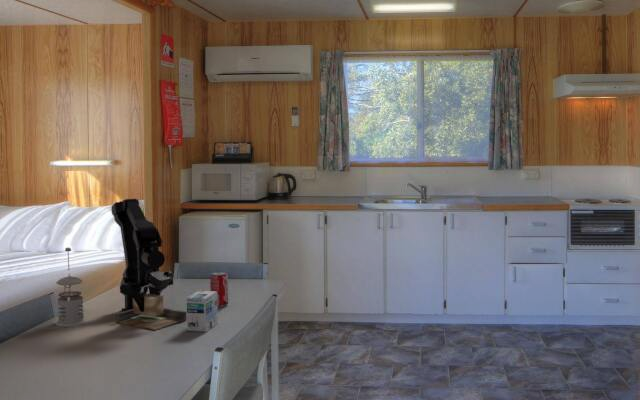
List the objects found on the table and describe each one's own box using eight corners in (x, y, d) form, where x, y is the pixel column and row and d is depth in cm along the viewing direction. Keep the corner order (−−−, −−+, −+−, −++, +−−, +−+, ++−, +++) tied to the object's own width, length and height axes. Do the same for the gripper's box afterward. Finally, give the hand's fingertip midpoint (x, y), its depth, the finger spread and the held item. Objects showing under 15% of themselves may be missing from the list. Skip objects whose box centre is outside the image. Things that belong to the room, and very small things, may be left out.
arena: (116, 322, 224) (115, 313, 224) (148, 313, 236) (148, 304, 235) (155, 330, 214) (154, 321, 214) (186, 320, 226) (186, 311, 226)
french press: (57, 328, 218) (53, 250, 216) (52, 319, 228) (49, 245, 226) (89, 324, 223) (86, 248, 220) (83, 315, 233) (80, 243, 231)
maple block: (152, 317, 222) (151, 298, 222) (133, 313, 227) (132, 295, 227) (163, 313, 226) (163, 295, 226) (144, 310, 231) (144, 292, 231)
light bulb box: (206, 332, 212) (206, 298, 211) (186, 331, 213) (185, 297, 212) (218, 323, 222) (217, 290, 221) (199, 322, 224) (198, 290, 223)
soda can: (207, 307, 244) (206, 273, 243) (216, 302, 250) (215, 270, 248) (222, 308, 241) (221, 275, 240) (231, 304, 247) (230, 271, 246)
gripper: (142, 270, 213) (143, 319, 215) (184, 261, 229) (185, 307, 230) (118, 267, 219) (119, 314, 221) (160, 258, 235) (162, 302, 236)
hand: (148, 309), depth 227 cm, fingers closed on maple block, 5 cm apart
